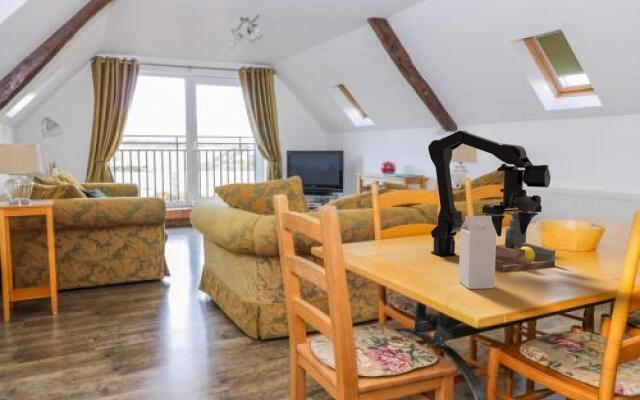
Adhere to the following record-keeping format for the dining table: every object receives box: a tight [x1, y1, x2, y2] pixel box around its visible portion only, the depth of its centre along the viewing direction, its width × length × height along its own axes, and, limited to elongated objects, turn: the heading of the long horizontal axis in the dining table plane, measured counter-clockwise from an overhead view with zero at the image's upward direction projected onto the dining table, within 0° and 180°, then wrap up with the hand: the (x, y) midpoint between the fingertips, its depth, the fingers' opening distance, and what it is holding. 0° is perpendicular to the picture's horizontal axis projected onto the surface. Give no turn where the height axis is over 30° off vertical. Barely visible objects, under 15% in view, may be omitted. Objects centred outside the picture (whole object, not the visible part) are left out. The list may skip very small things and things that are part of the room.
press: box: [495, 242, 556, 273], centre depth 160 cm, size 21×13×5 cm, turn 110°
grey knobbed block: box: [495, 227, 525, 265], centre depth 159 cm, size 4×9×11 cm, turn 20°
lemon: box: [521, 247, 535, 263], centre depth 161 cm, size 7×5×5 cm
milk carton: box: [458, 215, 497, 290], centre depth 135 cm, size 7×7×19 cm
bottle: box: [508, 211, 527, 248], centre depth 182 cm, size 6×6×15 cm
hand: (511, 235), depth 158 cm, fingers open, 9 cm apart
